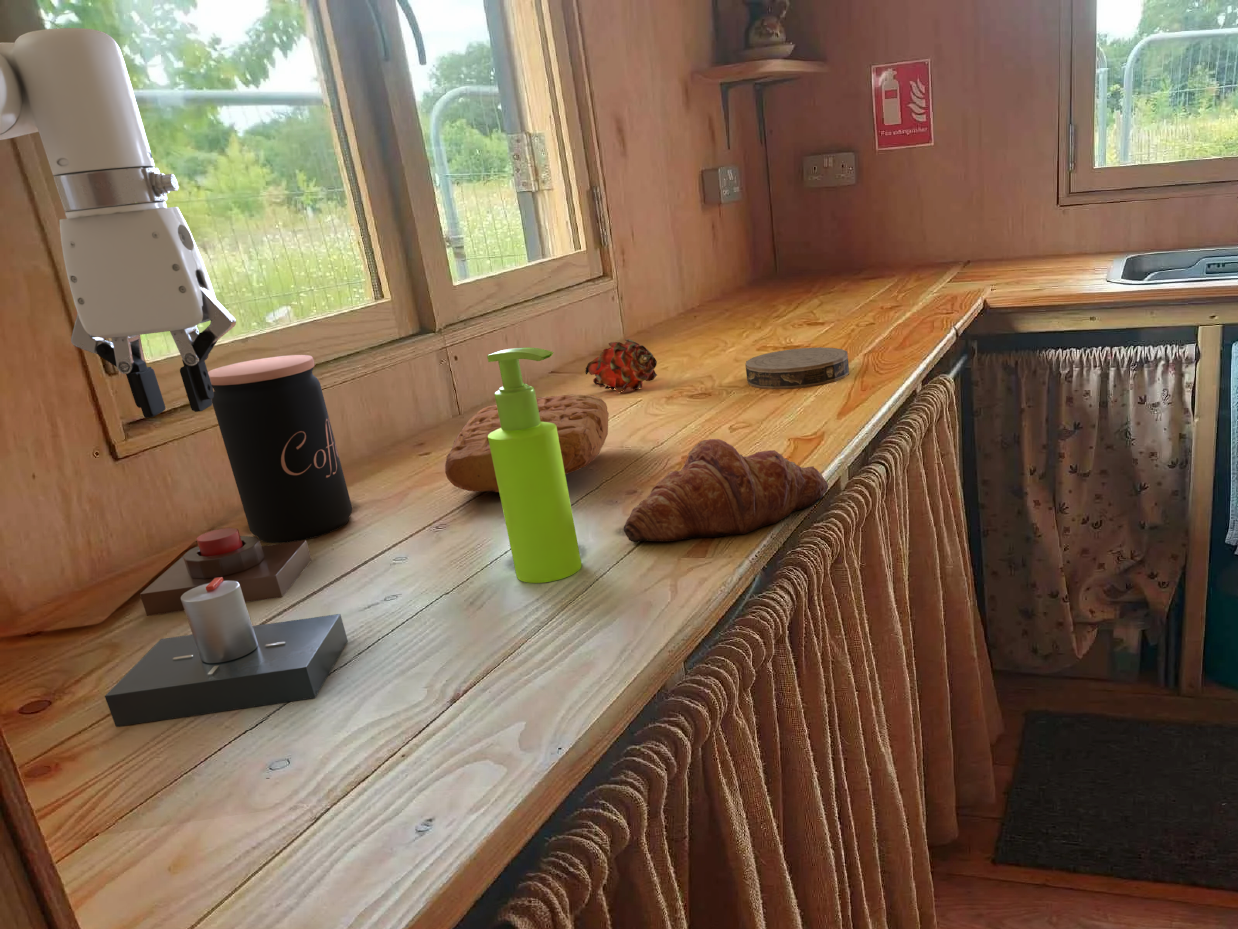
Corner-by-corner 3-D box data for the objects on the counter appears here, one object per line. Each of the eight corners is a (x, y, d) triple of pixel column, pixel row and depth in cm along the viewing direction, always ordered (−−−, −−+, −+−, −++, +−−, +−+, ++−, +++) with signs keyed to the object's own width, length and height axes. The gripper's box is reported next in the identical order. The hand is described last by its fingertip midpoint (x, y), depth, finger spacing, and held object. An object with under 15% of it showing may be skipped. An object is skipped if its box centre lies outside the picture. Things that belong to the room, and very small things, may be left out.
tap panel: (115, 726, 78) (103, 693, 77) (170, 666, 87) (160, 636, 86) (315, 697, 79) (305, 665, 78) (348, 641, 88) (340, 611, 87)
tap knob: (247, 659, 80) (226, 593, 78) (192, 666, 80) (169, 600, 78) (265, 637, 84) (246, 573, 82) (212, 644, 84) (191, 580, 82)
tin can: (726, 384, 170) (724, 364, 168) (799, 363, 179) (797, 345, 178) (796, 392, 158) (795, 372, 157) (870, 370, 168) (869, 350, 167)
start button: (196, 561, 101) (190, 543, 100) (209, 548, 104) (204, 530, 103) (235, 555, 101) (230, 537, 100) (248, 542, 104) (243, 525, 104)
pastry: (700, 490, 117) (690, 417, 114) (834, 493, 111) (827, 417, 108) (622, 545, 103) (609, 464, 100) (771, 552, 97) (761, 466, 94)
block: (147, 616, 99) (133, 575, 97) (188, 577, 108) (176, 539, 106) (282, 597, 100) (270, 556, 98) (312, 560, 109) (301, 522, 107)
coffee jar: (309, 546, 113) (262, 374, 107) (230, 544, 117) (179, 378, 110) (375, 512, 122) (335, 352, 116) (299, 512, 126) (256, 356, 119)
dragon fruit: (666, 398, 172) (597, 413, 175) (669, 358, 176) (602, 374, 180) (643, 362, 165) (572, 378, 168) (648, 322, 169) (579, 338, 173)
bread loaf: (493, 458, 141) (480, 397, 138) (623, 445, 140) (614, 383, 137) (440, 511, 120) (425, 441, 117) (593, 497, 119) (581, 426, 116)
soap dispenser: (570, 585, 95) (528, 355, 88) (504, 581, 97) (456, 358, 90) (603, 560, 100) (565, 341, 93) (538, 558, 102) (496, 344, 95)
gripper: (229, 183, 95) (286, 391, 102) (32, 205, 94) (102, 414, 100) (197, 185, 88) (260, 408, 95) (-16, 208, 87) (63, 433, 93)
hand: (178, 409), depth 97 cm, fingers open, 3 cm apart
